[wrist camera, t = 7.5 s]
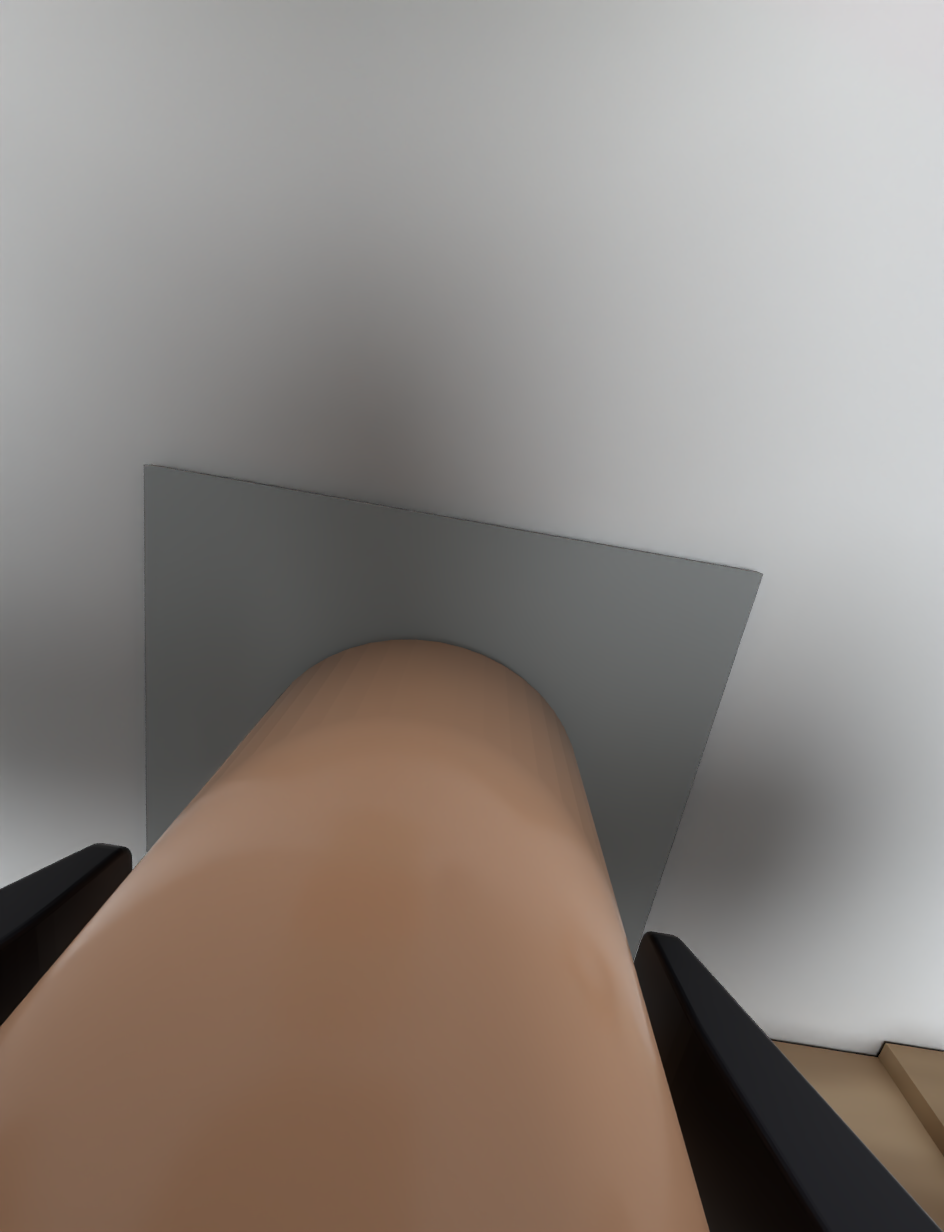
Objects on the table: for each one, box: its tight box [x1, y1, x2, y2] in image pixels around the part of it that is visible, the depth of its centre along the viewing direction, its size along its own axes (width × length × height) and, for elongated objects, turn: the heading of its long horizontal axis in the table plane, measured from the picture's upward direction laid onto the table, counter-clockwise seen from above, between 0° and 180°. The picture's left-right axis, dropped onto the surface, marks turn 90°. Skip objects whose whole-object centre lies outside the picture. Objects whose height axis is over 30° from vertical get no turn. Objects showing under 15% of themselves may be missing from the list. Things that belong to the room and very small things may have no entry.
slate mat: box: [144, 465, 763, 960], centre depth 10 cm, size 10×10×1 cm
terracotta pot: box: [0, 640, 710, 1232], centre depth 6 cm, size 6×6×7 cm
